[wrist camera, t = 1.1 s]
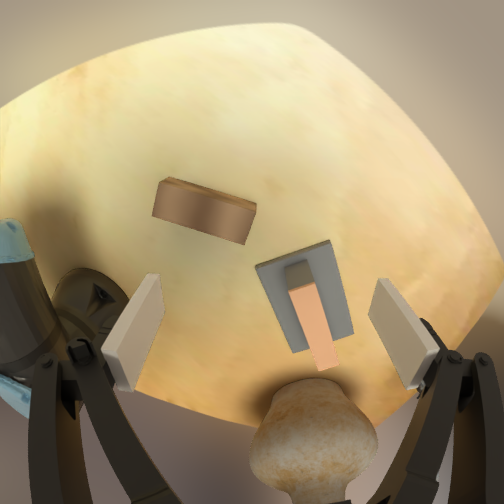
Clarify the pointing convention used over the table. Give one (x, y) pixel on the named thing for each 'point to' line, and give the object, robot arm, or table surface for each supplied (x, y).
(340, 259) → the table surface
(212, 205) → the walnut bar
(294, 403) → the vase
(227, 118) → the table surface
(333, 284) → the ridge block
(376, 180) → the table surface
